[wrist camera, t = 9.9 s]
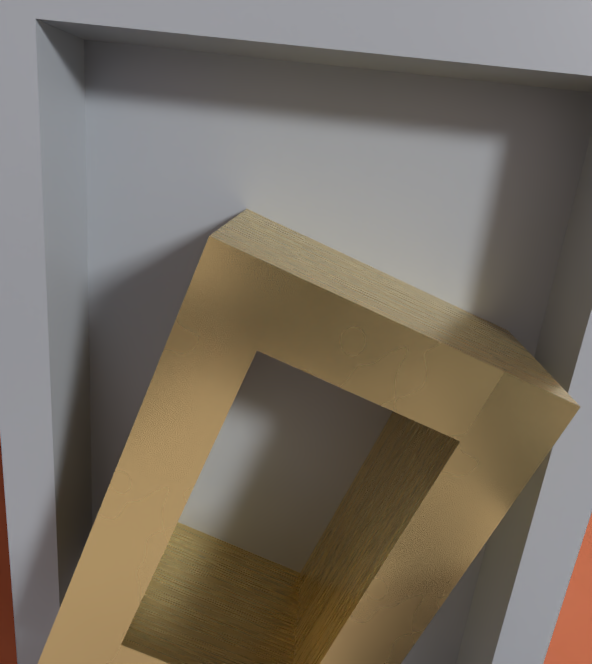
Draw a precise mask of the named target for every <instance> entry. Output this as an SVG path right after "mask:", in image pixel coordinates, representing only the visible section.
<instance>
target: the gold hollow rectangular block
mask: <svg viewBox="0 0 592 664" xmlns="http://www.w3.org/2000/svg"><path fill="white" fill-rule="evenodd" d="M257 351H259V352H261V353H264V354H266V355H268V356H270V357H272V358H275V359H277V360H279V361H281V362H284V363H286V364H288V365H290V366H293V367H295V368H297V369H299V370H302V371H304V372H306V373H308V374H311V375H313V376H315V377H317V378H320V379H322V380H324V381H326V382H328V383H331V384H333V385H335V386H337V387H340V388H342V389H344V390H346V391H349V392H351V393H353V394H355V395H358V396H360V397H362V398H364V399H367V400H369V401H371V402H373V403H376V404H378V405H380V406H382V407H384V408H387V409H389V410H391V411H393V412H392V414H391V416H390V418H389V419H388V421H387V423H386V425H385V426H384V428H383V430H382V432H381V433H380V435H379V437H378V439H377V440H376V442H375V444H374V445H373V447H372V449H371V451H370V452H369V454H368V456H367V458H366V459H365V461H364V463H363V465H362V466H361V468H360V470H359V472H358V473H357V475H356V477H355V479H354V480H353V482H352V484H351V486H350V487H349V489H348V491H347V493H346V494H345V496H344V498H343V500H342V501H341V503H340V505H339V506H338V508H337V510H336V512H335V513H334V515H333V517H332V519H331V520H330V522H329V524H328V526H327V527H326V529H325V531H324V533H323V534H322V536H321V538H320V540H319V541H318V543H317V545H316V547H315V548H314V550H313V552H312V554H311V555H310V557H309V559H308V560H307V562H306V564H305V566H304V567H303V569H302V571H301V573H299V572H297V571H294V570H292V569H289V568H287V567H285V566H282V565H280V564H277V563H275V562H273V561H270V560H268V559H265V558H263V557H261V556H258V555H256V554H253V553H251V552H249V551H246V550H244V549H241V548H239V547H237V546H234V545H232V544H229V543H227V542H225V541H222V540H220V539H217V538H215V537H213V536H210V535H208V534H205V533H203V532H201V531H198V530H196V529H193V528H191V527H189V526H186V525H184V524H181V523H179V522H178V520H179V518H180V516H181V514H182V512H183V510H184V507H185V505H186V503H187V501H188V499H189V497H190V494H191V492H192V490H193V488H194V486H195V484H196V481H197V479H198V477H199V475H200V473H201V471H202V468H203V466H204V464H205V462H206V460H207V458H208V456H209V453H210V451H211V449H212V447H213V445H214V443H215V440H216V438H217V436H218V434H219V432H220V430H221V427H222V425H223V423H224V421H225V419H226V417H227V414H228V412H229V410H230V408H231V406H232V404H233V401H234V399H235V397H236V395H237V393H238V391H239V388H240V386H241V384H242V382H243V380H244V378H245V376H246V373H247V371H248V369H249V367H250V365H251V363H252V360H253V358H254V356H255V354H256V352H257ZM579 409H580V406H579V404H578V403H577V402H576V401H575V400H574V399H573V398H572V397H571V396H570V395H569V394H568V393H567V392H566V391H565V390H564V389H563V388H562V387H561V386H560V384H559V383H558V382H557V381H556V380H555V379H554V378H553V377H552V376H551V375H550V374H549V373H548V372H547V371H546V370H545V369H544V368H543V367H542V366H541V364H540V363H539V362H538V361H537V360H536V359H535V358H534V357H533V356H532V355H531V354H530V353H529V352H528V351H527V350H526V349H525V348H524V347H523V345H522V344H521V343H520V342H519V341H518V340H517V339H516V338H515V337H514V336H513V335H512V334H511V333H510V332H509V331H508V330H506V329H504V328H502V327H500V326H497V325H495V324H493V323H491V322H489V321H487V320H485V319H482V318H480V317H478V316H476V315H474V314H472V313H470V312H467V311H465V310H463V309H461V308H459V307H457V306H455V305H452V304H450V303H448V302H446V301H444V300H442V299H440V298H437V297H435V296H433V295H431V294H429V293H427V292H425V291H422V290H420V289H418V288H416V287H414V286H412V285H410V284H407V283H405V282H403V281H401V280H399V279H397V278H395V277H392V276H390V275H388V274H386V273H384V272H382V271H380V270H377V269H375V268H373V267H371V266H369V265H367V264H365V263H362V262H360V261H358V260H356V259H354V258H352V257H350V256H347V255H345V254H343V253H341V252H339V251H337V250H335V249H332V248H330V247H328V246H326V245H324V244H322V243H320V242H317V241H315V240H313V239H311V238H309V237H307V236H305V235H302V234H300V233H298V232H296V231H294V230H292V229H290V228H287V227H285V226H283V225H281V224H279V223H277V222H275V221H272V220H270V219H268V218H266V217H264V216H262V215H260V214H257V213H255V212H253V211H251V210H249V209H246V210H244V211H243V212H241V213H240V214H239V215H237V216H236V217H235V218H233V219H232V220H230V221H229V222H228V223H226V224H225V225H224V226H222V227H221V228H219V229H218V230H217V231H215V232H214V233H212V234H211V235H210V236H209V238H208V240H207V243H206V245H205V248H204V250H203V253H202V255H201V258H200V260H199V263H198V265H197V268H196V270H195V273H194V275H193V277H192V280H191V282H190V285H189V287H188V290H187V292H186V295H185V297H184V300H183V302H182V305H181V307H180V310H179V312H178V315H177V317H176V320H175V322H174V325H173V327H172V330H171V332H170V335H169V337H168V340H167V342H166V345H165V347H164V350H163V352H162V355H161V357H160V360H159V362H158V365H157V367H156V370H155V372H154V375H153V377H152V380H151V382H150V385H149V387H148V390H147V392H146V395H145V397H144V400H143V402H142V405H141V407H140V410H139V412H138V415H137V417H136V420H135V422H134V425H133V427H132V430H131V432H130V435H129V437H128V440H127V442H126V445H125V447H124V450H123V452H122V455H121V457H120V459H119V462H118V464H117V467H116V469H115V472H114V474H113V477H112V479H111V482H110V484H109V487H108V489H107V492H106V494H105V497H104V499H103V502H102V504H101V507H100V509H99V512H98V514H97V517H96V519H95V522H94V524H93V527H92V529H91V532H90V534H89V537H88V539H87V542H86V544H85V547H84V549H83V552H82V554H81V557H80V559H79V562H78V564H77V567H76V569H75V572H74V574H73V577H72V579H71V582H70V584H69V587H68V589H67V592H66V594H65V597H64V599H63V602H62V604H61V607H60V609H59V612H58V614H57V617H56V619H55V622H54V624H53V627H52V629H51V632H50V634H49V637H48V639H47V642H46V644H45V646H44V649H43V651H42V654H41V656H40V659H39V661H38V664H401V663H402V662H403V660H404V659H405V657H406V656H407V654H408V653H409V652H410V650H411V649H412V647H413V646H414V644H415V643H416V642H417V640H418V639H419V637H420V636H421V634H422V633H423V632H424V630H425V629H426V627H427V626H428V624H429V623H430V622H431V620H432V619H433V617H434V616H435V614H436V613H437V612H438V610H439V609H440V607H441V606H442V604H443V603H444V602H445V600H446V599H447V597H448V596H449V594H450V593H451V592H452V590H453V589H454V587H455V586H456V584H457V583H458V582H459V580H460V579H461V577H462V576H463V574H464V573H465V572H466V570H467V569H468V567H469V566H470V564H471V563H472V562H473V560H474V559H475V557H476V556H477V554H478V553H479V552H480V550H481V549H482V547H483V546H484V544H485V543H486V542H487V540H488V539H489V537H490V536H491V534H492V533H493V532H494V530H495V529H496V527H497V526H498V524H499V523H500V522H501V520H502V519H503V517H504V516H505V514H506V513H507V512H508V510H509V509H510V507H511V506H512V504H513V503H514V502H515V500H516V499H517V497H518V496H519V494H520V493H521V492H522V490H523V489H524V487H525V486H526V484H527V483H528V481H529V480H530V479H531V477H532V476H533V474H534V473H535V471H536V470H537V469H538V467H539V466H540V464H541V463H542V461H543V460H544V459H545V457H546V456H547V454H548V453H549V451H550V450H551V449H552V447H553V446H554V444H555V443H556V441H557V440H558V439H559V437H560V436H561V434H562V433H563V431H564V430H565V429H566V427H567V426H568V424H569V423H570V421H571V420H572V419H573V417H574V416H575V414H576V413H577V411H578V410H579Z"/></svg>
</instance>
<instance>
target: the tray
mask: <svg viewBox="0 0 592 664" xmlns="http://www.w3.org/2000/svg"><path fill="white" fill-rule="evenodd" d="M246 209H249V210H251V211H253V212H255V213H257V214H260V215H262V216H264V217H266V218H268V219H270V220H272V221H275V222H277V223H279V224H281V225H283V226H285V227H287V228H290V229H292V230H294V231H296V232H298V233H300V234H302V235H305V236H307V237H309V238H311V239H313V240H315V241H317V242H320V243H322V244H324V245H326V246H328V247H330V248H332V249H335V250H337V251H339V252H341V253H343V254H345V255H347V256H350V257H352V258H354V259H356V260H358V261H360V262H362V263H365V264H367V265H369V266H371V267H373V268H375V269H377V270H380V271H382V272H384V273H386V274H388V275H390V276H392V277H395V278H397V279H399V280H401V281H403V282H405V283H407V284H410V285H412V286H414V287H416V288H418V289H420V290H422V291H425V292H427V293H429V294H431V295H433V296H435V297H437V298H440V299H442V300H444V301H446V302H448V303H450V304H452V305H455V306H457V307H459V308H461V309H463V310H465V311H467V312H470V313H472V314H474V315H476V316H478V317H480V318H482V319H485V320H487V321H489V322H491V323H493V324H495V325H497V326H500V327H502V328H504V329H506V330H508V331H509V332H510V333H511V334H512V335H513V336H514V337H515V338H516V339H517V340H518V341H519V342H520V343H521V344H522V345H523V347H524V348H525V349H526V350H527V351H528V352H529V353H530V354H531V355H532V356H533V357H534V358H535V359H536V360H537V361H538V362H539V363H540V364H541V366H542V367H543V368H544V369H545V370H546V371H547V372H548V373H549V374H550V375H551V376H552V377H553V378H554V379H555V380H556V381H557V382H558V383H559V384H560V386H561V387H562V388H563V389H564V390H565V391H566V392H567V393H568V394H569V395H570V396H571V397H572V398H573V399H574V400H575V401H576V402H577V403H578V404H579V406H580V409H579V410H578V411H577V413H576V414H575V416H574V417H573V419H572V420H571V421H570V423H569V424H568V426H567V427H566V429H565V430H564V431H563V433H562V434H561V436H560V437H559V439H558V440H557V441H556V443H555V444H554V446H553V447H552V449H551V450H550V451H549V453H548V454H547V456H546V457H545V459H544V460H543V461H542V463H541V464H540V466H539V467H538V469H537V470H536V471H535V473H534V474H533V476H532V477H531V479H530V480H529V481H528V483H527V484H526V486H525V487H524V489H523V490H522V492H521V493H520V494H519V496H518V497H517V499H516V500H515V502H514V503H513V504H512V506H511V507H510V509H509V510H508V512H507V513H506V514H505V516H504V517H503V519H502V520H501V522H500V523H499V524H498V526H497V527H496V529H495V530H494V532H493V533H492V534H491V536H490V537H489V539H488V540H487V542H486V543H485V544H484V546H483V547H482V549H481V550H480V552H479V553H478V554H477V556H476V557H475V559H474V560H473V562H472V563H471V564H470V566H469V567H468V569H467V570H466V572H465V573H464V574H463V576H462V577H461V579H460V580H459V582H458V583H457V584H456V586H455V587H454V589H453V590H452V592H451V593H450V594H449V596H448V597H447V599H446V600H445V602H444V603H443V604H442V606H441V607H440V609H439V610H438V612H437V613H436V614H435V616H434V617H433V619H432V620H431V622H430V623H429V624H428V626H427V627H426V629H425V630H424V632H423V633H422V634H421V636H420V637H419V639H418V640H417V642H416V643H415V644H414V646H413V647H412V649H411V650H410V652H409V653H408V654H407V656H406V657H405V659H404V660H403V662H402V663H401V664H543V662H544V659H545V656H546V653H547V650H548V647H549V643H550V640H551V637H552V634H553V631H554V628H555V625H556V622H557V618H558V615H559V612H560V609H561V606H562V603H563V600H564V597H565V593H566V590H567V587H568V584H569V581H570V578H571V575H572V572H573V568H574V565H575V562H576V559H577V556H578V553H579V550H580V547H581V543H582V540H583V537H584V534H585V531H586V528H587V525H588V522H589V518H590V515H591V512H592V0H0V437H1V451H2V464H3V477H4V491H5V504H6V517H7V531H8V544H9V558H10V571H11V584H12V598H13V611H14V625H15V638H16V651H17V664H38V661H39V659H40V656H41V654H42V651H43V649H44V646H45V644H46V642H47V639H48V637H49V634H50V632H51V629H52V627H53V624H54V622H55V619H56V617H57V614H58V612H59V609H60V607H61V604H62V602H63V599H64V597H65V594H66V592H67V589H68V587H69V584H70V582H71V579H72V577H73V574H74V572H75V569H76V567H77V564H78V562H79V559H80V557H81V554H82V552H83V549H84V547H85V544H86V542H87V539H88V537H89V534H90V532H91V529H92V527H93V524H94V522H95V519H96V517H97V514H98V512H99V509H100V507H101V504H102V502H103V499H104V497H105V494H106V492H107V489H108V487H109V484H110V482H111V479H112V477H113V474H114V472H115V469H116V467H117V464H118V462H119V459H120V457H121V455H122V452H123V450H124V447H125V445H126V442H127V440H128V437H129V435H130V432H131V430H132V427H133V425H134V422H135V420H136V417H137V415H138V412H139V410H140V407H141V405H142V402H143V400H144V397H145V395H146V392H147V390H148V387H149V385H150V382H151V380H152V377H153V375H154V372H155V370H156V367H157V365H158V362H159V360H160V357H161V355H162V352H163V350H164V347H165V345H166V342H167V340H168V337H169V335H170V332H171V330H172V327H173V325H174V322H175V320H176V317H177V315H178V312H179V310H180V307H181V305H182V302H183V300H184V297H185V295H186V292H187V290H188V287H189V285H190V282H191V280H192V277H193V275H194V273H195V270H196V268H197V265H198V263H199V260H200V258H201V255H202V253H203V250H204V248H205V245H206V243H207V240H208V238H209V236H210V235H211V234H212V233H214V232H215V231H217V230H218V229H219V228H221V227H222V226H224V225H225V224H226V223H228V222H229V221H230V220H232V219H233V218H235V217H236V216H237V215H239V214H240V213H241V212H243V211H244V210H246ZM392 412H393V411H391V410H389V409H387V408H384V407H382V406H380V405H378V404H376V403H373V402H371V401H369V400H367V399H364V398H362V397H360V396H358V395H355V394H353V393H351V392H349V391H346V390H344V389H342V388H340V387H337V386H335V385H333V384H331V383H328V382H326V381H324V380H322V379H320V378H317V377H315V376H313V375H311V374H308V373H306V372H304V371H302V370H299V369H297V368H295V367H293V366H290V365H288V364H286V363H284V362H281V361H279V360H277V359H275V358H272V357H270V356H268V355H266V354H264V353H261V352H259V351H257V352H256V354H255V356H254V358H253V360H252V363H251V365H250V367H249V369H248V371H247V373H246V376H245V378H244V380H243V382H242V384H241V386H240V388H239V391H238V393H237V395H236V397H235V399H234V401H233V404H232V406H231V408H230V410H229V412H228V414H227V417H226V419H225V421H224V423H223V425H222V427H221V430H220V432H219V434H218V436H217V438H216V440H215V443H214V445H213V447H212V449H211V451H210V453H209V456H208V458H207V460H206V462H205V464H204V466H203V468H202V471H201V473H200V475H199V477H198V479H197V481H196V484H195V486H194V488H193V490H192V492H191V494H190V497H189V499H188V501H187V503H186V505H185V507H184V510H183V512H182V514H181V516H180V518H179V520H178V522H179V523H181V524H184V525H186V526H189V527H191V528H193V529H196V530H198V531H201V532H203V533H205V534H208V535H210V536H213V537H215V538H217V539H220V540H222V541H225V542H227V543H229V544H232V545H234V546H237V547H239V548H241V549H244V550H246V551H249V552H251V553H253V554H256V555H258V556H261V557H263V558H265V559H268V560H270V561H273V562H275V563H277V564H280V565H282V566H285V567H287V568H289V569H292V570H294V571H297V572H299V573H301V571H302V569H303V567H304V566H305V564H306V562H307V560H308V559H309V557H310V555H311V554H312V552H313V550H314V548H315V547H316V545H317V543H318V541H319V540H320V538H321V536H322V534H323V533H324V531H325V529H326V527H327V526H328V524H329V522H330V520H331V519H332V517H333V515H334V513H335V512H336V510H337V508H338V506H339V505H340V503H341V501H342V500H343V498H344V496H345V494H346V493H347V491H348V489H349V487H350V486H351V484H352V482H353V480H354V479H355V477H356V475H357V473H358V472H359V470H360V468H361V466H362V465H363V463H364V461H365V459H366V458H367V456H368V454H369V452H370V451H371V449H372V447H373V445H374V444H375V442H376V440H377V439H378V437H379V435H380V433H381V432H382V430H383V428H384V426H385V425H386V423H387V421H388V419H389V418H390V416H391V414H392Z"/></svg>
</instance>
